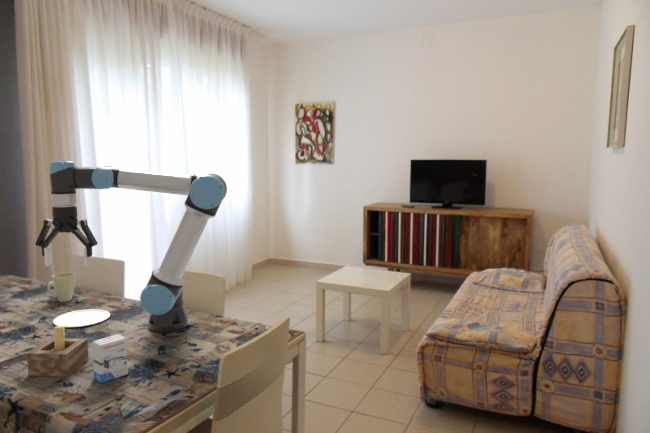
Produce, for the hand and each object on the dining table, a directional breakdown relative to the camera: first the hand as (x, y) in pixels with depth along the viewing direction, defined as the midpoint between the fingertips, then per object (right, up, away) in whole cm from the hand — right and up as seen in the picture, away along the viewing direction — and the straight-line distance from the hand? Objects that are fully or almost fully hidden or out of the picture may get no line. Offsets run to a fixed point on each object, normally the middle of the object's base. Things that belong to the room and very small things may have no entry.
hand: (68, 265), depth 160 cm
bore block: (+7, -30, -16) cm, 35 cm away
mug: (-29, -22, +48) cm, 60 cm away
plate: (-9, -25, +26) cm, 37 cm away
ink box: (+25, -32, -22) cm, 46 cm away
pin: (+7, -29, -16) cm, 34 cm away
